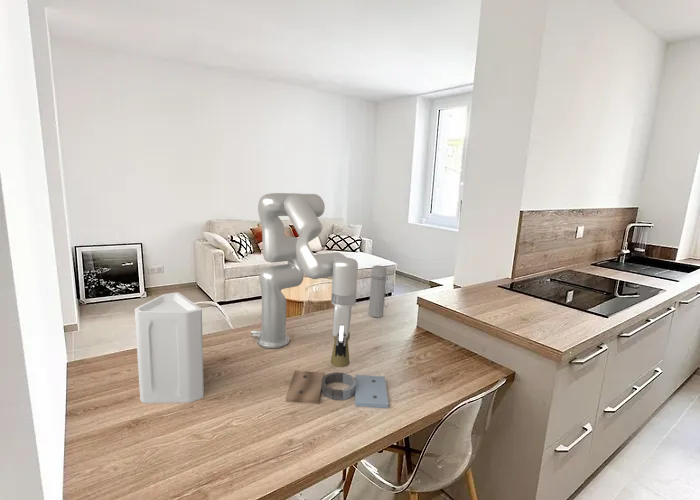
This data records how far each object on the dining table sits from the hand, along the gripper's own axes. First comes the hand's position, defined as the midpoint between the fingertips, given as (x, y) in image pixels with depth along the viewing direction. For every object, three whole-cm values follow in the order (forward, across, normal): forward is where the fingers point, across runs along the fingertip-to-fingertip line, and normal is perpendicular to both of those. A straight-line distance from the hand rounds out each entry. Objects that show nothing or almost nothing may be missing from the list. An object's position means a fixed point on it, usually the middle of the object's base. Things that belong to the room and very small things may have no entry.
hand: (340, 352), depth 118 cm
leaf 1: (+13, 0, -7) cm, 15 cm away
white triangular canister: (+13, +7, -52) cm, 54 cm away
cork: (+3, 0, 0) cm, 3 cm away
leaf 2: (+13, 0, +8) cm, 15 cm away
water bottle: (+13, -67, +16) cm, 70 cm away
